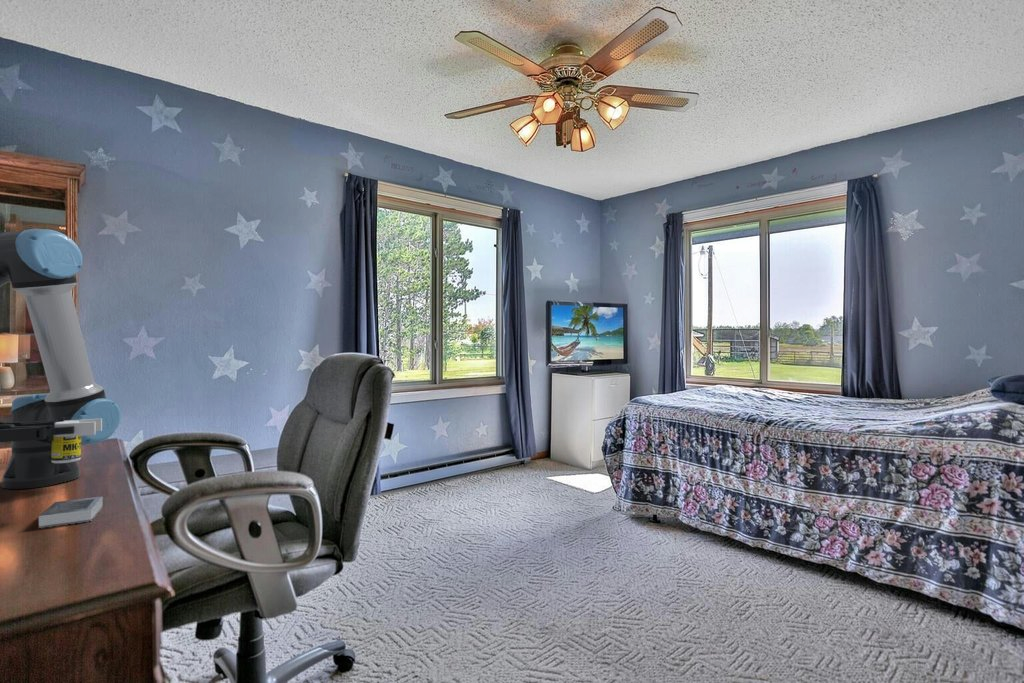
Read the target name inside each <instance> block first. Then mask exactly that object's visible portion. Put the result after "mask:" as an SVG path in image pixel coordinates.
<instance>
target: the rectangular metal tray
mask: <svg viewBox="0 0 1024 683" xmlns="http://www.w3.org/2000/svg"><path fill="white" fill-rule="evenodd" d="M103 502H104V500H103V496H94V497H86V498H77V499H70V500H62V501H61V500H60V501H54V503H52V504H51V505H50V506H48V508H46V509H45V510H44V511H43V512H42V513H40V514H39V515H38V529H39V528H41V529H46V528H45V527H49V528H53V527H52V526H56V527H61V526H60V525H64V526H69V525H68V524H71V525H76V524H75V523H78V524H82V523H81V522H86V523H90V522H89V521H91V522H92V521H93V520H94V519H95V518H96V517H97V515H98V514H99V513H100V512H101V510H102V509H103V504H104V503H103ZM98 512H99V513H98ZM97 513H98V514H97ZM93 518H94V519H93ZM92 519H93V520H92Z"/></svg>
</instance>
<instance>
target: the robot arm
mask: <svg viewBox="0 0 1024 683" xmlns="http://www.w3.org/2000/svg"><path fill="white" fill-rule="evenodd" d="M83 259H84V258H83V253H82V251H81V249H80V248H79V246H78V245H77V243H75V241H74V240H73V239H72V238H71V237H69V236H67V235H66V234H64V233H62V232H60V231H58V230H54V229H49V228H47V229H46V228H45V229H44V228H30V229H29V228H27V229H22V230H11V231H10V230H8V231H7V230H6V231H0V288H1V287H2V286H4V285H6V284H8V283H11V287H12V289H13V291H16V292H17V293H19V294H21V295H22V296H23V297H24V300H25V303H26V308H27V311H28V315H29V319H30V321H31V325H32V330H33V333H34V336H35V340H36V343H37V346H38V351H39V354H40V358H41V362H42V366H43V369H44V373H45V376H46V379H47V384H48V387H49V390H50V391H49V392H48V393H40V394H30V395H24V396H19V397H16V398H14V399H13V400H12V402H11V408H10V412H9V413H10V417H11V418H10V419H11V421H7V422H4V421H0V443H9V442H11V453H10V454H11V455H10V459H9V461H8V463H7V465H6V468H5V470H4V473H3V475H2V477H1V488H3V489H7V490H19V489H20V490H23V489H24V490H25V489H33V488H35V489H36V488H41V487H42V488H43V487H49V486H53V485H54V486H55V485H59V483H60V484H63V482H64V483H67V481H68V482H71V481H74V480H76V478H77V479H79V478H80V477H81V467H80V465H79V462H78V461H74V462H69V463H52V462H51V454H52V441H53V440H54V435H55V437H69V436H81V446H85V445H86V446H87V445H96V444H99V443H103V442H105V441H106V440H107V439H109V438H110V437H111V436H112V435H113V434H114V433H115V431H116V429H118V428H119V426H120V422H121V420H122V419H121V418H122V413H121V409H120V407H119V405H118V404H117V403H116V402H113V400H111V399H109V398H107V397H106V394H105V393H106V392H105V388H104V387H103V386H102V385H100V384H98V383H96V382H95V380H94V374H93V372H92V368H91V364H90V359H89V356H88V352H87V349H86V344H85V341H84V336H83V332H82V329H81V326H80V321H79V316H78V313H77V309H76V305H75V301H74V298H73V292H72V291H73V289H74V288H75V287H76V286H77V285H78V280H77V277H76V274H78V273H79V272H80V268H82V267H83V266H82V265H83V262H84V261H83ZM63 421H79V423H64V424H55V423H56V422H63ZM54 426H55V427H54ZM79 476H80V477H79ZM78 477H79V478H78ZM73 479H74V480H73ZM70 480H71V481H70Z"/></svg>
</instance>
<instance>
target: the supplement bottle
mask: <svg viewBox="0 0 1024 683" xmlns="http://www.w3.org/2000/svg"><path fill="white" fill-rule="evenodd" d="M64 423H79V421H63V422H56V423H55V424H64ZM54 427H55V426H54ZM81 459H82V445H81V436H69V437H55V435H54V440H53V441H52V454H51V462H52V463H69V462H74V461H77V462H78V461H80V460H81Z"/></svg>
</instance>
